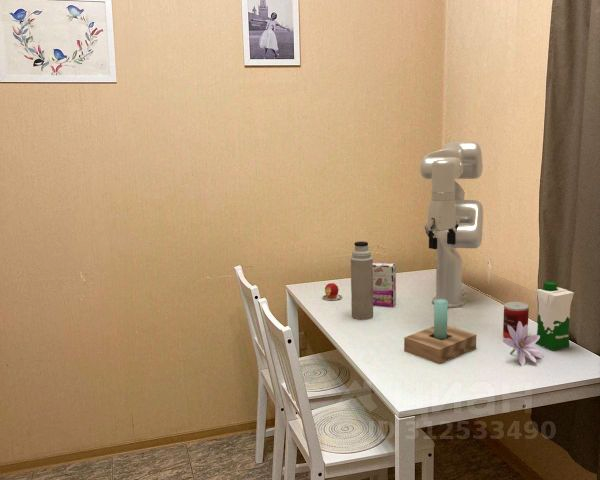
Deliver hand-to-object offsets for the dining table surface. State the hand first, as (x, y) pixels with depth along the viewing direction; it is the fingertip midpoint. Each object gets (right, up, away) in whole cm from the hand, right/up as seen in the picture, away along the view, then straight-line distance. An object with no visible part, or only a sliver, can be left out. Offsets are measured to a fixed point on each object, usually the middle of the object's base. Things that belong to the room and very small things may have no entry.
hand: (442, 246), depth 213 cm
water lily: (+19, -34, -26) cm, 46 cm away
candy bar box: (-17, -23, +31) cm, 42 cm away
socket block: (-4, -32, -16) cm, 36 cm away
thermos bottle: (-25, -26, +18) cm, 41 cm away
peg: (-4, -32, -16) cm, 36 cm away
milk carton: (+31, -31, -16) cm, 47 cm away
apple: (-35, -22, +41) cm, 59 cm away
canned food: (+22, -30, -8) cm, 38 cm away
